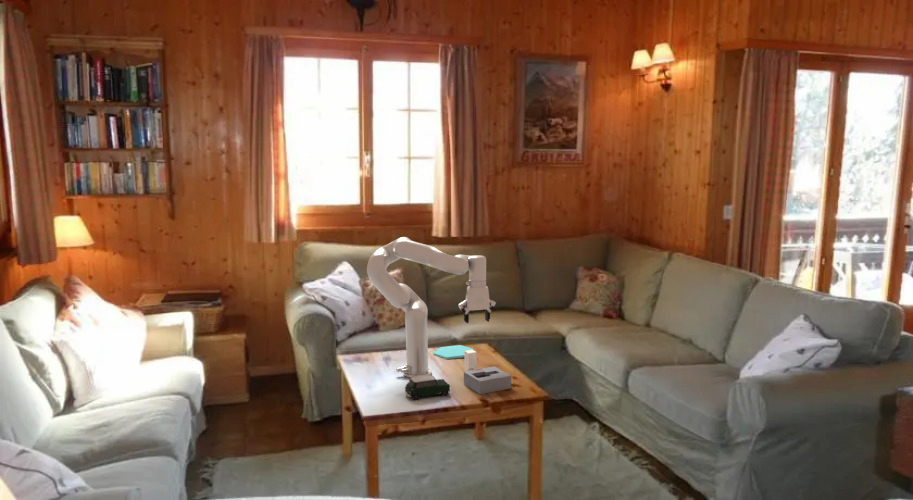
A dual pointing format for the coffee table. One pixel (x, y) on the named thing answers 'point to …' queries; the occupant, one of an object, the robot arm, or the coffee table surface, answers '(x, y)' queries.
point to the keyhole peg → (470, 359)
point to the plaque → (451, 351)
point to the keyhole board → (487, 380)
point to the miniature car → (426, 386)
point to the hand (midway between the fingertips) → (477, 321)
